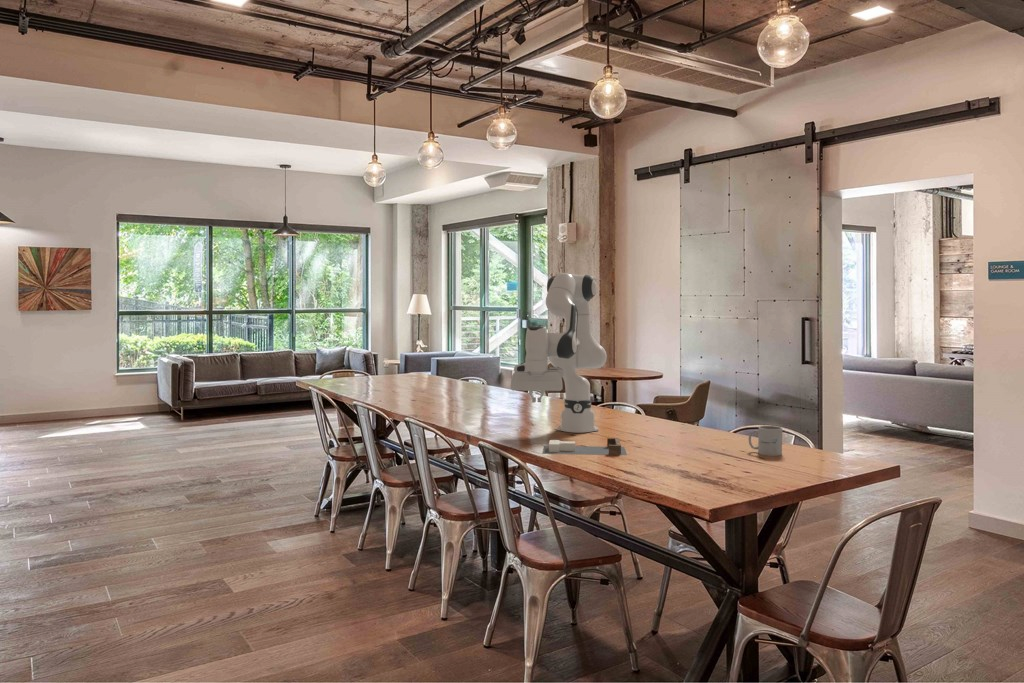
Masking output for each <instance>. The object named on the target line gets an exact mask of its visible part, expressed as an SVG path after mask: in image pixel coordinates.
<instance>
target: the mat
mask: <svg viewBox="0 0 1024 683" xmlns="http://www.w3.org/2000/svg"><path fill="white" fill-rule="evenodd" d="M541 454H542V455H585V456H586V455H591V456H592V455H596V456H598V455H599V456H600V455H602V456H603V455H604V456H610V455H609V447H607V446H593V445H592V446H589V445H587V446H582V445H580V446H579V445H578V446H577V445H575V451H559V452H549V445H543V447H542V451H541ZM627 455H628V454H627V450H626V447H625V446H621V455H620V456H627Z"/></svg>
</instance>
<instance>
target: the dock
mask: <svg viewBox="0 0 1024 683" xmlns="http://www.w3.org/2000/svg"><path fill="white" fill-rule="evenodd" d="M606 445H607V446H606V447H609V455H608V456H622V455H621V447H622V445H621V442H620V438H619V437H607V444H606Z"/></svg>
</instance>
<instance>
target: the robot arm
mask: <svg viewBox="0 0 1024 683" xmlns="http://www.w3.org/2000/svg"><path fill="white" fill-rule="evenodd" d="M597 290H598V285H597V280H596V278H595V277H594V276H593V275H590V274H576V273H575V274H574V273H572V274H570V273H566V272H560V273H558V274H557V275H552V276H551V277H550V278H549V279H548V281H547V283H546V291H547V294H546V298H545V305H546V308H547V309H548V311H549V312H550V313H551V314H552V315H554V316H555V317H559V318H562V319H564V320H565V328H564V329H565V330H564V331H563V332H560V333H559V332H558V333H557V332H555V333H554V332H548V329H547V326H546V325H544V324H534V325H529V326H528V327H527V329H526V331H525V332H526V334H525V342H524V345H525V346H524V347H525V352H526V354H525V358H524V359H525V362H522V363H519V364H516V365H514V367H513V371H514V372H513V374H512V376H511V379H510V389H511V390H512V391H514V392H516V391H528V394H529V396H530V398H531V402H532V403H536V402H537V403H542V397H543V396H544V395H545V392H561V391H562V390H563V381H564V387H565V389H564V390H565V399H564V403H563V404H564V409H563V410H562V411H561V413H560V425H559V426H557V427H556V431H561V432H562V431H563V432H565V433H574V434H575V433H579V434H580V433H590V432H597V431H600V430H599V427H597V426H596V425H595V412H594V410H592V400H591V384H590V381H589V379H587V378H586V377H583V376H581V375H580V374H578V373H577V370H595V369H599V368H600V369H601V368H603V367H604V365H605V364H606V362H607V360H608V355H607V352H606V350H605V348H604V347H603V346H602V345H601V344H599V343H598V341H597V340H596V339H595V337H594V336H593V335H594V334H593V333H592V328H591V305H590V301H591V299H593V298H594V296H596V293H597ZM577 340H578V342H579V343H578V342H577ZM577 343H578V344H577ZM549 362H550V363H551V365H552V366H549ZM534 391H537V392H540V394H541V395H540V396H537V397H534V395H533V393H534Z"/></svg>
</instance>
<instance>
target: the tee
mask: <svg viewBox="0 0 1024 683" xmlns="http://www.w3.org/2000/svg"><path fill="white" fill-rule="evenodd" d="M548 446H549V452H559V451H575V446H576V441H568V440H567V441H566V440H565V441H561V440H559V439H550V440H549V442H548Z"/></svg>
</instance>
